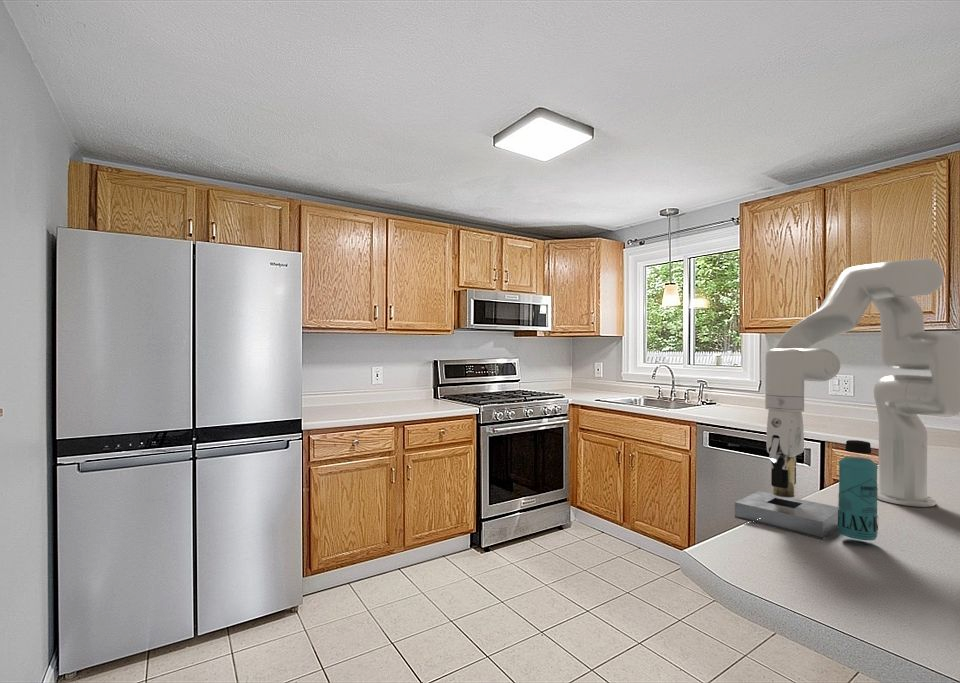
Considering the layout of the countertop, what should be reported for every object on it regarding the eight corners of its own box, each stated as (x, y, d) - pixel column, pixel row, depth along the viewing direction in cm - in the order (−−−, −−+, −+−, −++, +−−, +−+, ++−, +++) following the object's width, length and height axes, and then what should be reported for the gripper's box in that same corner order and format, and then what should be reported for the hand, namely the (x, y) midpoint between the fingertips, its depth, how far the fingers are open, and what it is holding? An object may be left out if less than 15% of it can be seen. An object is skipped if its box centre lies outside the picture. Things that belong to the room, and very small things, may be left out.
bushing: (797, 495, 115) (797, 454, 115) (790, 498, 112) (790, 457, 112) (776, 491, 118) (776, 451, 118) (769, 494, 115) (770, 453, 115)
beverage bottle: (829, 538, 103) (829, 438, 103) (852, 534, 105) (852, 437, 106) (863, 550, 97) (863, 444, 97) (886, 546, 99) (886, 442, 99)
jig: (758, 505, 124) (758, 490, 125) (842, 523, 112) (842, 507, 112) (734, 517, 115) (734, 502, 115) (822, 539, 102) (822, 521, 102)
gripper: (789, 407, 107) (789, 495, 106) (815, 402, 118) (814, 482, 118) (751, 404, 112) (750, 488, 112) (779, 400, 124) (778, 476, 123)
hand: (783, 484), depth 115 cm, fingers closed on bushing, 4 cm apart
